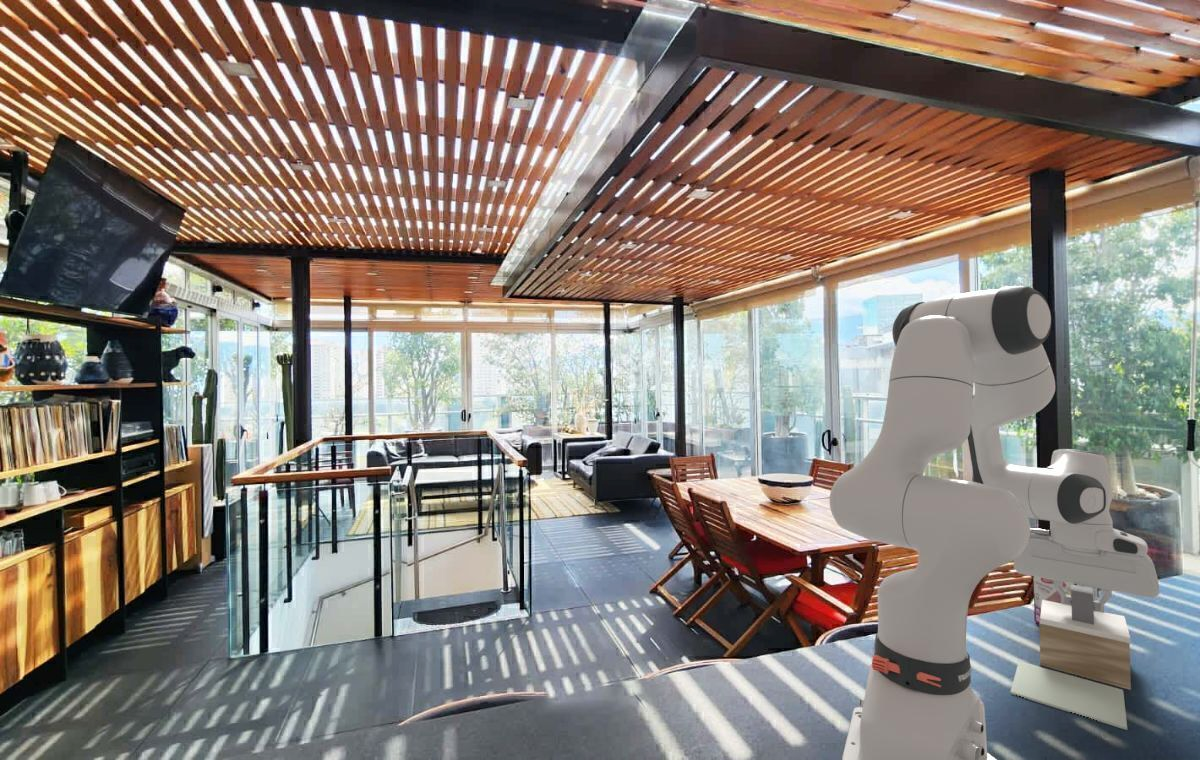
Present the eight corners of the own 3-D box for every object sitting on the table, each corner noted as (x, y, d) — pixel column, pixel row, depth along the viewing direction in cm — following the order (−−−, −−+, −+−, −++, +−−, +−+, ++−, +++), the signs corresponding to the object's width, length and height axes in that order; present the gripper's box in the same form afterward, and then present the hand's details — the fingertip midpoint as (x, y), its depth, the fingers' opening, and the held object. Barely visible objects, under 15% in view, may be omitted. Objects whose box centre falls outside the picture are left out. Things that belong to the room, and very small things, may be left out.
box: (1130, 691, 90) (1129, 644, 90) (1040, 666, 98) (1039, 623, 98) (1127, 665, 99) (1126, 622, 99) (1044, 644, 107) (1043, 604, 107)
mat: (1127, 730, 79) (1127, 727, 79) (1010, 693, 89) (1010, 691, 89) (1123, 692, 89) (1123, 689, 89) (1018, 663, 99) (1018, 661, 99)
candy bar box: (1032, 621, 117) (1030, 548, 118) (1054, 622, 117) (1053, 548, 117) (1076, 645, 106) (1075, 564, 106) (1101, 646, 106) (1099, 564, 106)
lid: (1130, 652, 90) (1129, 608, 91) (1040, 631, 98) (1039, 591, 99) (1124, 629, 99) (1123, 589, 100) (1042, 611, 107) (1041, 575, 108)
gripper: (1009, 527, 104) (1011, 597, 104) (1159, 548, 90) (1161, 629, 90) (1013, 522, 109) (1014, 589, 108) (1156, 541, 95) (1158, 618, 94)
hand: (1082, 607), depth 99 cm, fingers closed on lid, 3 cm apart
